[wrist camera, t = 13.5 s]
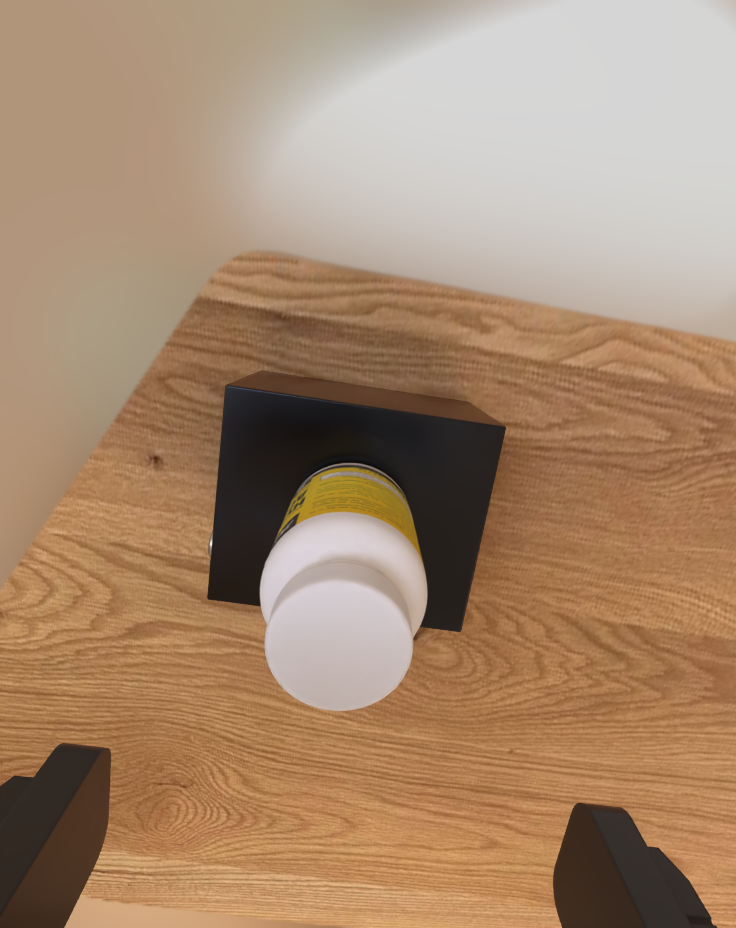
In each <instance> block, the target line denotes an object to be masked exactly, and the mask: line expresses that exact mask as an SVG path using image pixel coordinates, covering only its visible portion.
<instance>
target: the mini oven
mask: <svg viewBox="0 0 736 928" xmlns="http://www.w3.org/2000/svg"><path fill="white" fill-rule="evenodd" d="M505 430H506V427H505V426H503V425H502V424H500V423H499V422H497V421H496V420H494V419H493V418H492V417H490V416H489V415H487V414H486V413H484V412H483V411H481V410H480V409H478V408H477V407H475V406H474V405H472V404H471V403H469V402H466V401H459V400H453V399H446V398H440V397H433V396H426V395H420V394H413V393H407V392H400V391H394V390H387V389H380V388H374V387H367V386H361V385H354V384H348V383H341V382H334V381H328V380H321V379H315V378H308V377H301V376H295V375H288V374H282V373H275V372H269V371H259V372H257V373H254V374H252V375H249V376H247V377H244V378H242V379H240V380H237V381H235V382H232V383H230V384H227V385H226V386H225V397H224V409H223V420H222V432H221V444H220V456H219V467H218V479H217V491H216V503H215V514H214V526H213V531H212V533H211V537H210V541H209V549H208V552H209V557H211V561H210V573H209V585H208V596H207V598H208V599H209V600H217V601H224V602H232V603H240V604H247V605H255V606H261V603H260V582H261V577H262V573H263V569H264V566H265V562H266V560H267V557H268V555H269V553H270V550H271V548H272V546H273V544H274V542H275V539H276V537H277V535H278V532H279V530H280V528H281V525H282V523H283V520H284V518H285V515H286V513H287V511H288V508H289V505H290V503H291V501H292V499H293V497H294V495H295V494H296V492H297V490H298V489H299V487H300V486H301V485H302V484H303V483H304V482H305V481H306V480H307V479H308V478H309V477H310V476H311V475H313V474H314V473H316V472H317V471H319V470H321V469H323V468H326V467H328V466H332V465H335V464H341V463H358V464H364V465H368V466H371V467H373V468H376V469H378V470H380V471H382V472H383V473H385V474H386V475H388V476H389V477H390V478H391V479H392V480H393V481H394V482H395V483H396V484H397V485H398V486H399V487H400V489H401V490H402V492H403V493H404V495H405V497H406V499H407V502H408V504H409V507H410V511H411V514H412V518H413V522H414V527H415V531H416V535H417V540H418V544H419V548H420V552H421V556H422V560H423V565H424V569H425V574H426V581H427V605H426V610H425V614H424V617H423V620H422V623H421V625H420V627H425V628H433V629H440V630H448V631H456V632H461V630H462V625H463V620H464V616H465V611H466V607H467V602H468V598H469V593H470V589H471V584H472V580H473V575H474V571H475V566H476V561H477V557H478V552H479V548H480V543H481V539H482V534H483V530H484V525H485V521H486V516H487V511H488V507H489V502H490V498H491V493H492V489H493V484H494V480H495V475H496V471H497V466H498V461H499V457H500V452H501V448H502V443H503V439H504V434H505Z"/></svg>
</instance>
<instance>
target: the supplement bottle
mask: <svg viewBox="0 0 736 928" xmlns="http://www.w3.org/2000/svg"><path fill="white" fill-rule="evenodd" d="M260 603H261V609H262V613H263V616H264V619H265V622H266V624H267V629H266V634H265V654H266V659H267V663H268V666H269V668H270V670H271V672H272V674H273V676H274V677H275V679H276V680H277V682H278V683H279V684H280V685H281V687H282V688H283V689H284V690H285V691H286V692H288V693H289V694H290V695H291V696H293V697H294V698H296V699H298V700H299V701H301V702H303V703H305V704H307V705H310V706H313V707H316V708H320V709H324V710H332V711H348V710H355V709H359V708H363V707H366V706H369V705H371V704H373V703H375V702H378V701H380V700H381V699H383V698H384V697H386V696H387V695H388V694H389V693H391V692H392V691H393V690H394V689H395V688H396V687H397V686H398V685H399V684H400V682H401V681H402V679H403V678H404V676H405V674H406V672H407V670H408V668H409V665H410V662H411V659H412V654H413V637H414V635H415V634H416V632H417V630H418V629H419V627H420V625H421V623H422V620H423V617H424V614H425V610H426V605H427V581H426V574H425V569H424V565H423V560H422V556H421V552H420V548H419V544H418V540H417V535H416V531H415V527H414V522H413V518H412V514H411V511H410V507H409V504H408V502H407V499H406V497H405V495H404V493H403V492H402V490H401V489H400V487H399V486H398V485H397V484H396V483H395V482H394V481H393V480H392V479H391V478H390V477H389V476H388V475H386V474H385V473H383V472H382V471H380V470H378V469H376V468H373V467H371V466H368V465H364V464H358V463H341V464H335V465H332V466H328V467H326V468H323V469H321V470H319V471H317V472H316V473H314V474H313V475H311V476H310V477H309V478H308V479H307V480H306V481H305V482H304V483H303V484H302V485H301V486H300V487H299V489H298V490H297V492H296V494H295V495H294V497H293V499H292V501H291V503H290V505H289V508H288V511H287V513H286V515H285V518H284V520H283V523H282V525H281V528H280V530H279V532H278V535H277V537H276V539H275V542H274V544H273V546H272V548H271V550H270V553H269V555H268V557H267V560H266V562H265V566H264V569H263V573H262V577H261V582H260Z"/></svg>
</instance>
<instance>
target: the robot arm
mask: <svg viewBox="0 0 736 928" xmlns="http://www.w3.org/2000/svg"><path fill="white" fill-rule="evenodd" d="M110 768H111V753H110V749H109V748H103V747H94V746H85V745H76V744H67V743H62V744H60V745H58V746H57V747H56V748H55V749H54V751H53V752H52V753H51V755H50V756H49V757H48V759H47V760H46V761H45V763H44V764H43V766H42V767H41V768H40V770H39V771H38V772H37V774H36V775H35V777H34V778H31V777H22V776H14V777H12V778H11V779H9V780H8V781H7V782H5V783H4V784H3V785H1V786H0V928H64V927H65V925H66V923H67V921H68V919H69V917H70V915H71V913H72V911H73V908H74V907H75V905H76V903H77V900H78V899H79V897H80V895H81V893H82V891H83V889H84V886H85V884H86V882H87V880H88V878H89V876H90V874H91V872H92V870H93V868H94V866H95V864H96V862H97V859H98V857H99V854H100V852H101V849H102V846H103V842H104V839H105V835H106V831H107V826H108V818H109V794H110ZM553 889H554V899H555V905H556V909H557V913H558V916H559V919H560V922H561V925H562V928H717V927H716V926H713V924H712V922H711V917H710V915H709V913H708V912H707V910H706V908H705V907H704V905H703V903H702V901H701V900H700V898H699V896H698V895H697V893H696V891H695V890H694V888H693V886H692V885H691V883H690V881H689V880H688V879H687V878H686V877H685V876H684V875H683V874H682V873H681V871H680V870H679V869H678V868H677V867H676V866H675V865H674V864H673V863H672V862H671V861H670V860H669V859H668V858H667V857H666V855H665V854H664V853H663V852H662V851H661V850H660V849H659V848H656V847H647V845H646V843H645V841H644V840H643V838H642V836H641V834H640V832H639V831H638V829H637V827H636V825H635V823H634V822H633V820H632V818H631V817H630V815H629V814H628V813H627V811H625V810H624V809H623V808H621V807H612V806H603V805H594V804H585V803H577V804H576V805H575V806H574V808H573V810H572V813H571V816H570V819H569V822H568V826H567V829H566V832H565V835H564V839H563V842H562V845H561V849H560V852H559V855H558V858H557V862H556V865H555V869H554V876H553Z"/></svg>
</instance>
